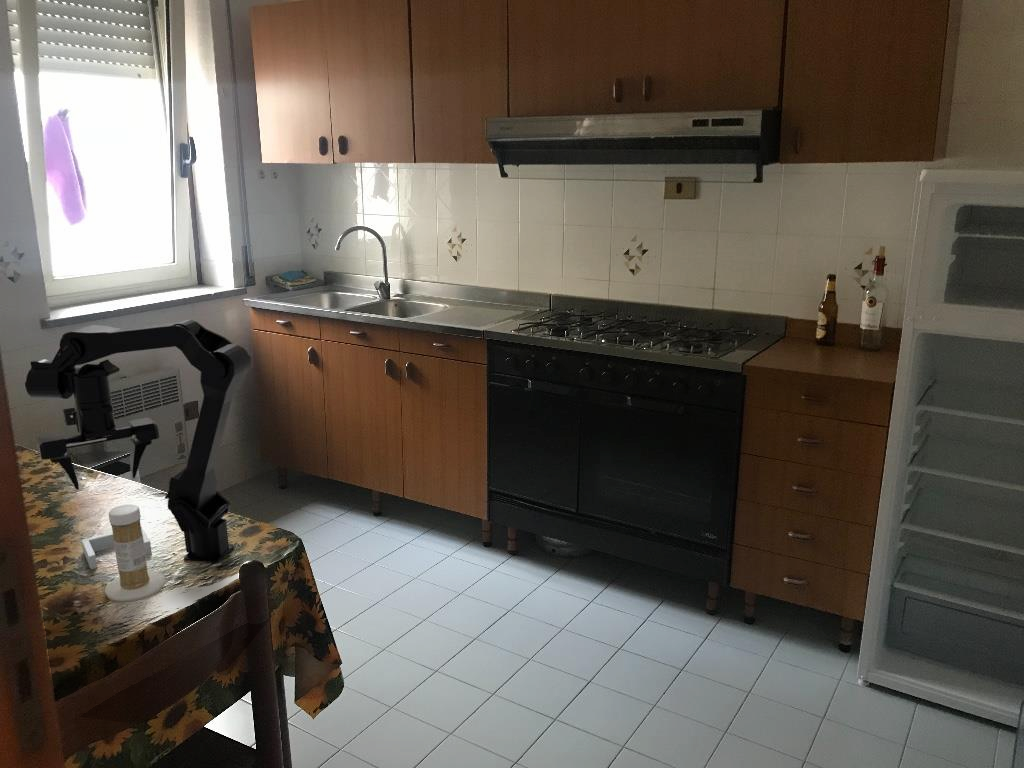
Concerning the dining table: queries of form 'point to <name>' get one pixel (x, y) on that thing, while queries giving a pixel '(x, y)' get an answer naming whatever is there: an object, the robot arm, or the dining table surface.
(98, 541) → the grey archway
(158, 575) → the coaster
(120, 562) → the sprinkles bottle
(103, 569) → the dining table surface
